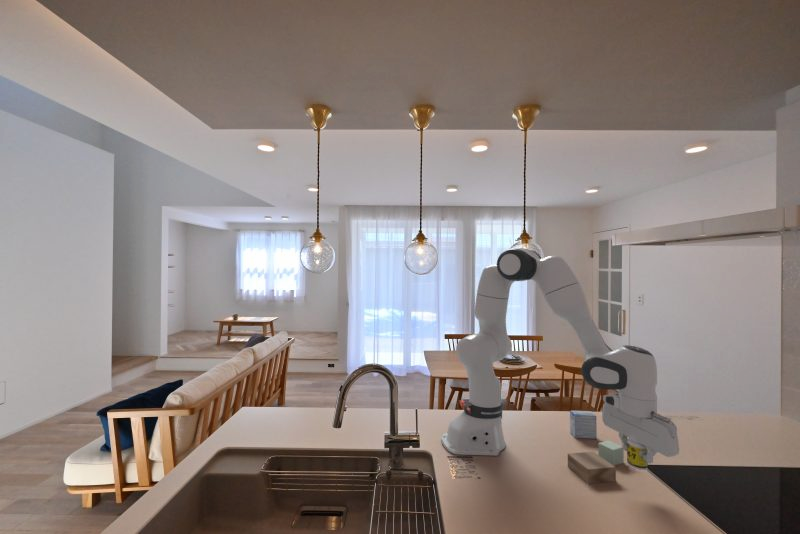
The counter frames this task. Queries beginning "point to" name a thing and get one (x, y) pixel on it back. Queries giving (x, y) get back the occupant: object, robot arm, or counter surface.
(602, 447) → the sage block
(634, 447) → the supplement bottle
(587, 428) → the medicine box
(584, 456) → the walnut block
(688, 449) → the counter surface
